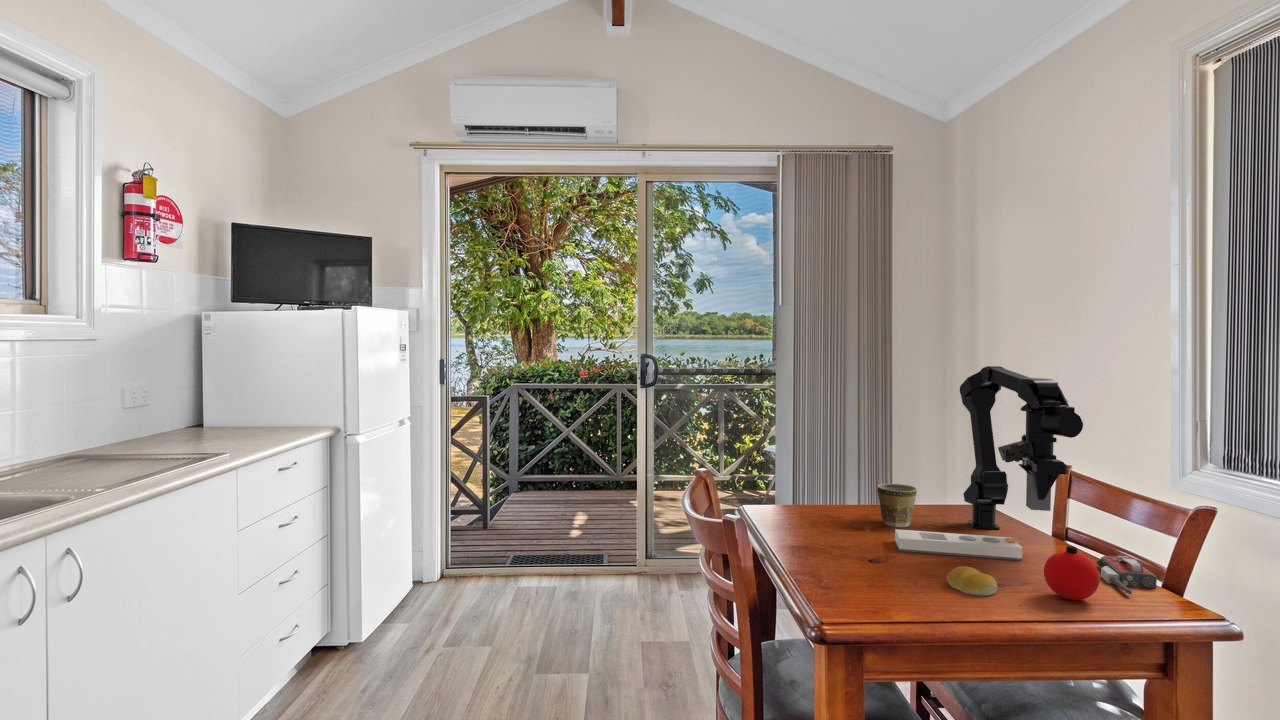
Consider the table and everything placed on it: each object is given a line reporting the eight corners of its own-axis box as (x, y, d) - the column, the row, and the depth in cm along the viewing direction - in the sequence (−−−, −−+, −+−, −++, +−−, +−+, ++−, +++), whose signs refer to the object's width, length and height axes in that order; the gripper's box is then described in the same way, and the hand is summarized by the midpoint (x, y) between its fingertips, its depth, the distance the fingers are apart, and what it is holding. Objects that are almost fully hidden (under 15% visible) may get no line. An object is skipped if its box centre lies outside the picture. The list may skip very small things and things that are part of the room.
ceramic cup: (922, 529, 177) (922, 491, 176) (884, 528, 177) (884, 491, 177) (903, 516, 190) (904, 481, 189) (868, 516, 190) (868, 481, 189)
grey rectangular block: (1026, 505, 162) (1026, 472, 161) (1044, 507, 161) (1045, 473, 160) (1031, 509, 158) (1032, 475, 158) (1050, 510, 157) (1051, 476, 157)
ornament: (1108, 609, 123) (1109, 555, 123) (1055, 605, 125) (1056, 552, 124) (1085, 591, 132) (1086, 541, 132) (1035, 588, 134) (1036, 538, 133)
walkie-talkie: (1085, 566, 149) (1122, 599, 129) (1086, 546, 149) (1123, 576, 129) (1132, 570, 146) (1176, 604, 127) (1132, 550, 146) (1177, 581, 127)
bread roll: (975, 599, 128) (976, 579, 128) (939, 584, 136) (940, 564, 136) (1008, 594, 131) (1008, 574, 131) (971, 579, 139) (971, 560, 139)
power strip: (895, 541, 165) (895, 526, 165) (1011, 550, 159) (1012, 535, 159) (899, 550, 157) (899, 535, 157) (1022, 560, 151) (1022, 544, 151)
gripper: (991, 426, 170) (990, 487, 170) (1013, 435, 152) (1012, 504, 152) (1040, 428, 167) (1039, 490, 167) (1069, 437, 149) (1067, 507, 149)
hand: (1038, 497), depth 159 cm, fingers closed on grey rectangular block, 4 cm apart
